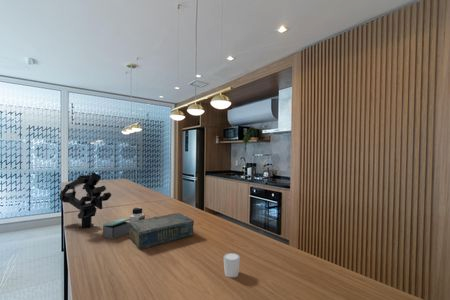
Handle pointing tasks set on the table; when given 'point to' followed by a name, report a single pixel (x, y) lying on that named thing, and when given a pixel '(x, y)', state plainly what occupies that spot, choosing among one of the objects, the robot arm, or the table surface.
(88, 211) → the robot arm
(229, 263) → the shot glass
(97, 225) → the table surface
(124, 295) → the table surface
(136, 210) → the medicine bottle
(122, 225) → the storage box
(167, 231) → the metal box
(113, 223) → the lid
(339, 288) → the table surface
